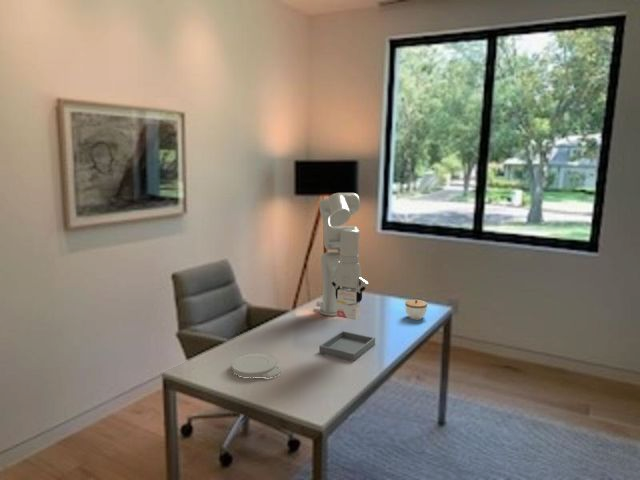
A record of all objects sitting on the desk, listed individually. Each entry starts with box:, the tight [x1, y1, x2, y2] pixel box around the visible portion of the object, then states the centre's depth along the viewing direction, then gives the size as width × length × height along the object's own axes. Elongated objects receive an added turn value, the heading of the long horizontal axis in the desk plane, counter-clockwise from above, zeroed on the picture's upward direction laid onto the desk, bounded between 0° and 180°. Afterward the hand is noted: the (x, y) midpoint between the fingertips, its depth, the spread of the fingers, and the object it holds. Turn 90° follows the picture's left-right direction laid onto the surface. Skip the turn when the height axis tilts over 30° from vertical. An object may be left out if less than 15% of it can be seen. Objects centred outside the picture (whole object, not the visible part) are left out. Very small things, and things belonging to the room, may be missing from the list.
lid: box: [230, 353, 282, 378], centre depth 184 cm, size 17×20×3 cm
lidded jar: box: [404, 299, 428, 321], centre depth 242 cm, size 11×11×9 cm
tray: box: [318, 330, 376, 362], centre depth 204 cm, size 16×20×3 cm
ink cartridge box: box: [336, 286, 361, 321], centre depth 200 cm, size 9×5×15 cm, turn 65°
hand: (348, 299), depth 200 cm, fingers closed on ink cartridge box, 9 cm apart
